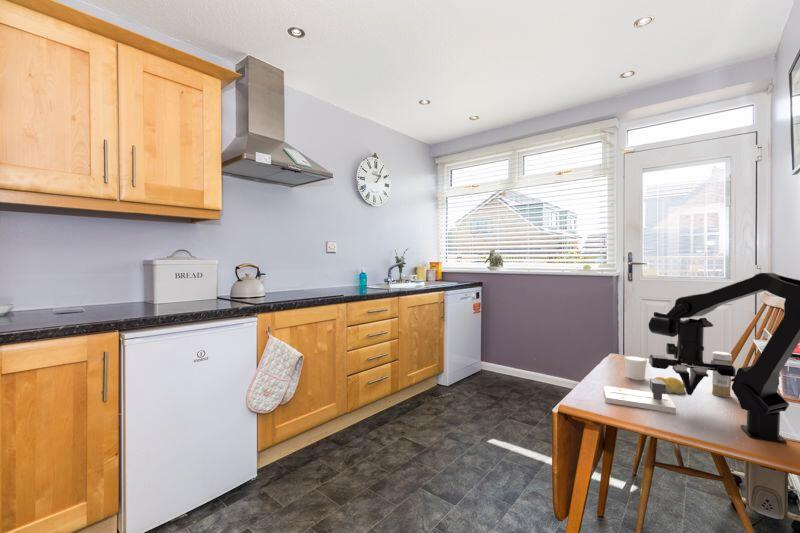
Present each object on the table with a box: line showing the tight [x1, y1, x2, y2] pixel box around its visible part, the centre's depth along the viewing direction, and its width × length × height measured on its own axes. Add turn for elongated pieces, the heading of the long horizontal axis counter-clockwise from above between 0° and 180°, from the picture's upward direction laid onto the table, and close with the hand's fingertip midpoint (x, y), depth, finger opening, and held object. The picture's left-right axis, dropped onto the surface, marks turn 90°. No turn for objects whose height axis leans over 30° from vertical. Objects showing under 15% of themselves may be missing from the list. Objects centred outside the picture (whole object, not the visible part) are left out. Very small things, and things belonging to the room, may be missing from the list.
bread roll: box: [653, 376, 686, 394], centre depth 120 cm, size 8×9×4 cm
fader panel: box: [603, 385, 677, 414], centre depth 111 cm, size 11×17×2 cm, turn 64°
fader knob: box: [649, 378, 666, 399], centre depth 108 cm, size 4×3×5 cm
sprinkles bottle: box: [711, 350, 733, 398], centre depth 115 cm, size 5×5×13 cm
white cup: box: [624, 355, 648, 381], centre depth 132 cm, size 7×7×7 cm
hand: (689, 394), depth 105 cm, fingers closed
